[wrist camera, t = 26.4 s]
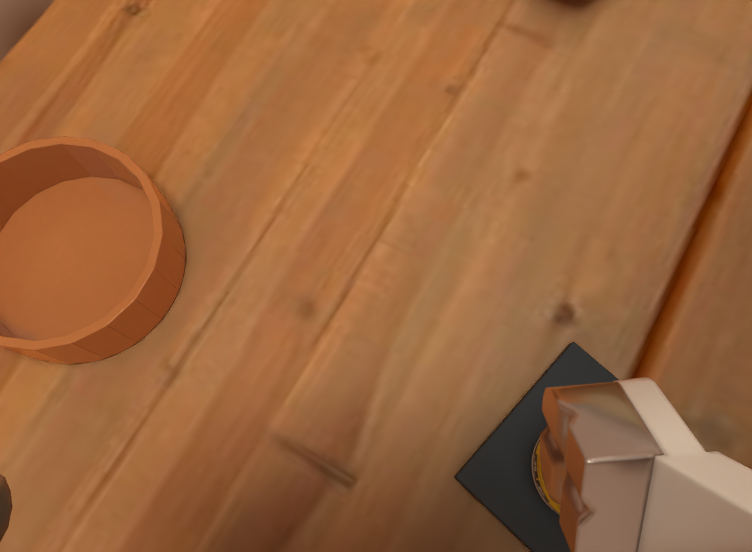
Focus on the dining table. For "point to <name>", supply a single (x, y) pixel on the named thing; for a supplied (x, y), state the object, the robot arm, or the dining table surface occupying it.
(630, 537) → the robot arm
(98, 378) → the dining table surface
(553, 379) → the mat
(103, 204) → the round wooden tray
